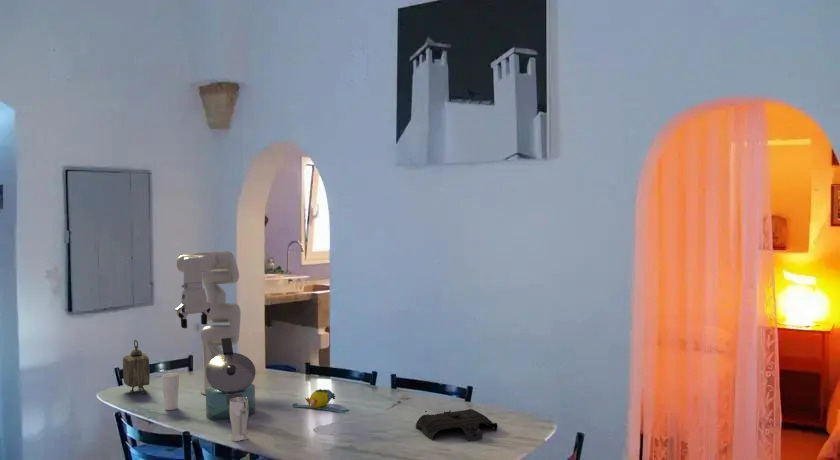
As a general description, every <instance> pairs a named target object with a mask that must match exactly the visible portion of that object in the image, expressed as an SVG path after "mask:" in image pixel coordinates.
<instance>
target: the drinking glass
mask: <svg viewBox="0 0 840 460" xmlns="http://www.w3.org/2000/svg"><path fill="white" fill-rule="evenodd" d="M179 375H180V374H179V373H177V372H169V373H164V374H162V377H161V378H162V379H161V382H162V392H163V399H164V400H163V401H164V409H165V410H166V411H174V410H177V409H178V408H179V393H180V390H179V389H180V376H179Z"/></svg>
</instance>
